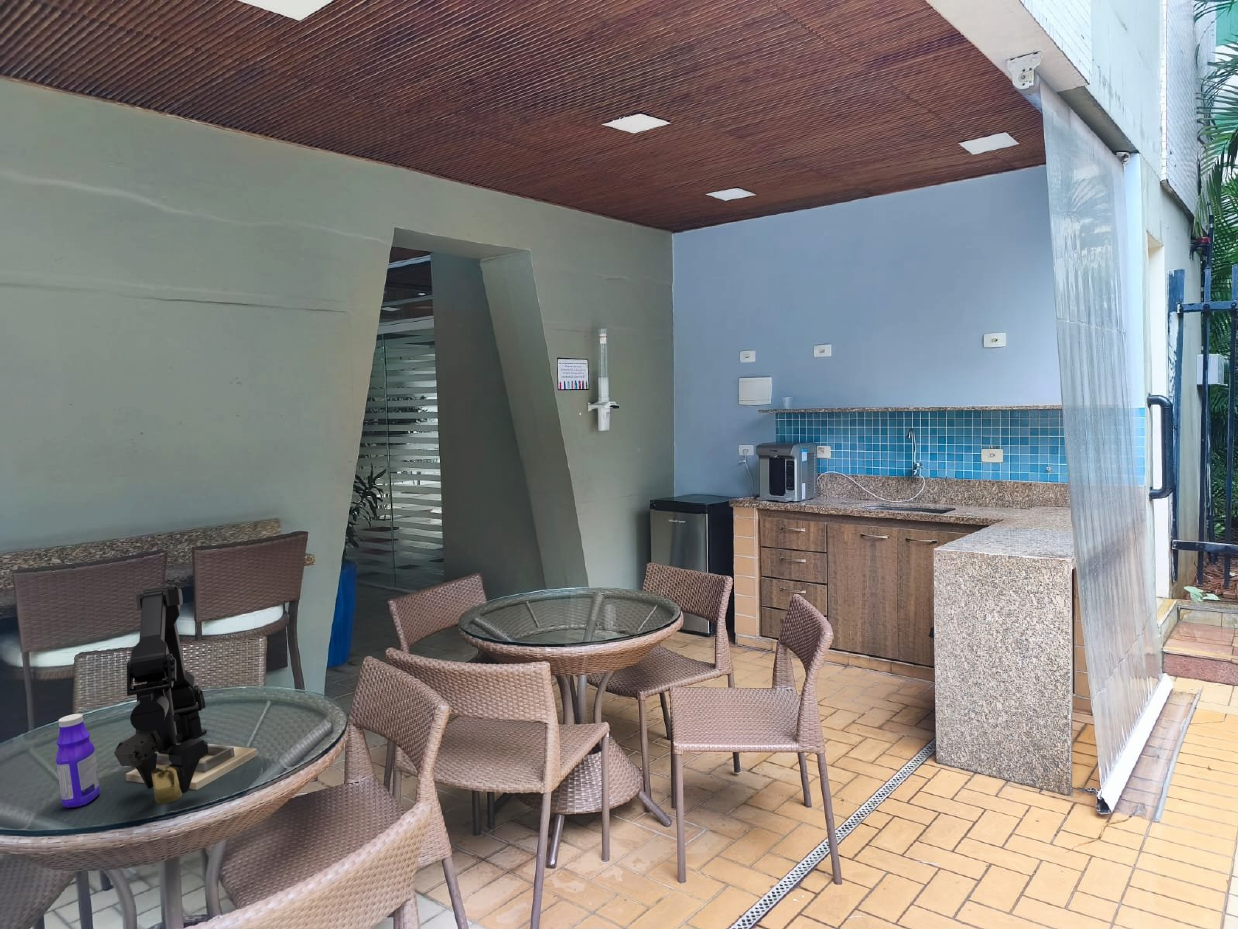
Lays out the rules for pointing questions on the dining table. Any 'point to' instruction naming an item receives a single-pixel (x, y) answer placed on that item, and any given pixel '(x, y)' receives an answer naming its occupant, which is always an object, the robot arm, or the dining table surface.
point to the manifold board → (207, 764)
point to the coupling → (165, 784)
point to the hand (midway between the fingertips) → (167, 790)
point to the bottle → (76, 763)
